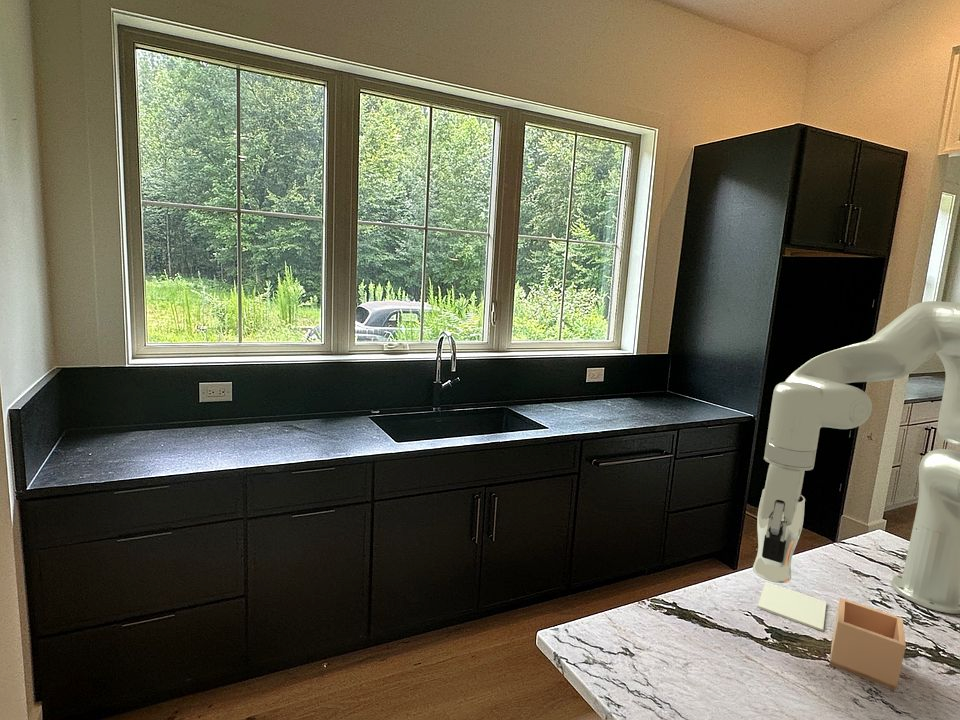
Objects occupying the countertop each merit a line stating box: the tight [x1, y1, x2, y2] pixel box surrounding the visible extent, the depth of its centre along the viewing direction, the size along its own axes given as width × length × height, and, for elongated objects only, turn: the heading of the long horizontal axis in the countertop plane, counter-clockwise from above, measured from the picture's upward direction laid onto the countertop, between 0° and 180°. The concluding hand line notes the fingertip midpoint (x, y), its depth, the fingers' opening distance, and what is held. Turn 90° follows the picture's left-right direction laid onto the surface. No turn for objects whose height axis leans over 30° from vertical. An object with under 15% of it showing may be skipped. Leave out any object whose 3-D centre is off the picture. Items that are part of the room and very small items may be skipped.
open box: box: [829, 597, 907, 692], centre depth 92 cm, size 9×9×8 cm
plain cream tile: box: [756, 581, 827, 632], centre depth 108 cm, size 11×11×1 cm
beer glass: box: [752, 487, 806, 584], centre depth 96 cm, size 7×7×15 cm
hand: (775, 550), depth 97 cm, fingers closed on beer glass, 6 cm apart
